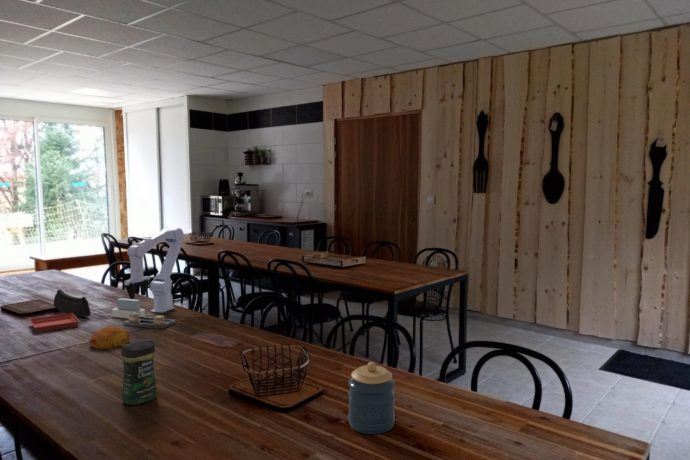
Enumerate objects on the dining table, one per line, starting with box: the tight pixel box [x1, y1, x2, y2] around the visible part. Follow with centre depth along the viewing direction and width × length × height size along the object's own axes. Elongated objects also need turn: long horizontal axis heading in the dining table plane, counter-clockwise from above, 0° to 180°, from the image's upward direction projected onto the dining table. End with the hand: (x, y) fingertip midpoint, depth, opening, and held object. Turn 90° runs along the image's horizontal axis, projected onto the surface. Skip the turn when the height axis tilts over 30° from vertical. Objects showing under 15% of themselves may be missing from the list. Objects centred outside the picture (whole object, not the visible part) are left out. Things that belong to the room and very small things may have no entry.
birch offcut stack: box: [127, 313, 140, 323], centre depth 233 cm, size 4×4×5 cm
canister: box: [347, 361, 396, 435], centre depth 137 cm, size 13×13×18 cm
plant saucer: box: [29, 313, 80, 333], centre depth 231 cm, size 18×18×3 cm
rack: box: [122, 316, 176, 330], centre depth 233 cm, size 10×22×2 cm, turn 71°
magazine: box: [53, 289, 92, 318], centre depth 250 cm, size 17×3×30 cm
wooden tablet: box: [189, 331, 244, 349], centre depth 210 cm, size 26×2×10 cm
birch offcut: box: [152, 315, 165, 323], centre depth 229 cm, size 3×3×2 cm
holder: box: [110, 307, 147, 320], centre depth 246 cm, size 6×16×4 cm, turn 71°
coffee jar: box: [120, 338, 158, 406], centre depth 152 cm, size 10×8×19 cm
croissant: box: [88, 325, 131, 350], centre depth 205 cm, size 14×16×8 cm
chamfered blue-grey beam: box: [116, 297, 141, 311], centre depth 245 cm, size 2×12×8 cm, turn 71°
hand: (137, 297), depth 243 cm, fingers open, 7 cm apart
